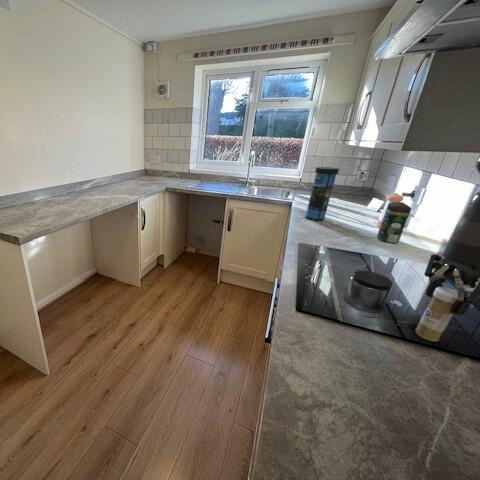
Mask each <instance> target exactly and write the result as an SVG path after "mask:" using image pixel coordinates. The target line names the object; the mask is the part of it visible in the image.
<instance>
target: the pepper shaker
mask: <svg viewBox="0 0 480 480" xmlns="http://www.w3.org/2000/svg"><path fill="white" fill-rule="evenodd" d="M385 199H386V202H385V204H384V208H383V209H382V211H381V213H380V215H379V218H378V219H377V220H376V223H375V227H377V228H379V229H380V226H381V224H382V221H383V218H384V215H385V212H386V209H387V207H388V204H389V203H392V202H403V201H404V197H403V196H402V195H401V194H399V193H397V192H395V193H392V194H391V193H390V194H388V195H386V196H385Z"/></svg>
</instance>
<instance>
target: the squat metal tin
mask: <svg viewBox="0 0 480 480" xmlns="http://www.w3.org/2000/svg"><path fill="white" fill-rule="evenodd" d="M392 290H393V281H392V280H391V279H390V278H388V277H387V276H385V275H382V274H380V273H377V272H374V271H370V270H356V271H354V272H353V274H352V275H351V277H350V279H349V283H348V285H347V288H346V292H345V294H344V297H343V298H344V301H345V302H346V303H347V305H349V306H350V307H353V308H354V309H356V310H358V311H362V312H364V313H368V314H381V313H382V312H383V311H384V309H385V307H386V305H387V302H388V300H389V297H390V295H391V292H392ZM362 317H364V318H366V316H364V315H363V316H362ZM367 318H369V319H376V318H377V317H376V316H367Z"/></svg>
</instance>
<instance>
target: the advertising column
mask: <svg viewBox="0 0 480 480" xmlns="http://www.w3.org/2000/svg"><path fill="white" fill-rule="evenodd" d="M339 170H340V168H338V167H332V166H331V167H330V166H316V167H315V170H314V173H315V176H314V179H313V183H312V189H311V191H310V196H309V197H310V198H309V200H308V205H307V209H306V213H305V217H304V218H305V219H306V218H307V219H306V220H308V219H309V220H308V221H311V220H314V221H313V222H319V221H320V222H324V221H325V217H326V214H327V210H328V207H329V203H330V200H331V195H332V192H333V188H334V184H335V181H336V177H337V175H338V174H339ZM323 220H324V221H323Z"/></svg>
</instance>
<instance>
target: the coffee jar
mask: <svg viewBox="0 0 480 480" xmlns="http://www.w3.org/2000/svg"><path fill="white" fill-rule="evenodd" d="M411 212H412V207H411V206H409V205H408V204H406V203H405V202H403V201H401V202H392V203H389V204H388V207H387V209H386V212H385V215H384V218H383V221H382V224H381V226H380V228H379V230H378V231H377V235H376V237H377V239H378V240H379V241H381V242H384V243H388V244H398V243H399V242H400V239H401V238H402V234H403V232H404V229H405V226H406V223H407V221H408V218H409V217H410V214H411Z"/></svg>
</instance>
